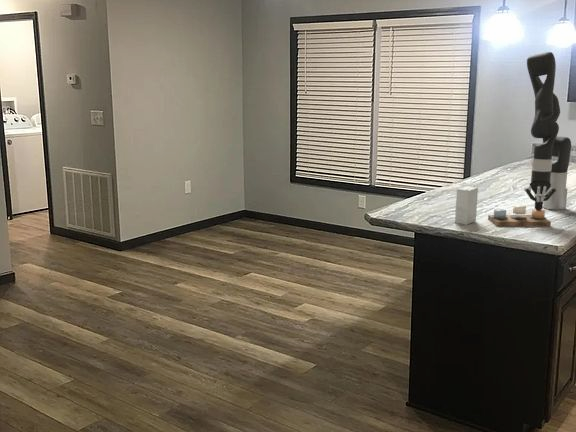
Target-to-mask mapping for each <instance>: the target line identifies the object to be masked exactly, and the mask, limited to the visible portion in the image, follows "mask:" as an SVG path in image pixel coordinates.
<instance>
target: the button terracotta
mask: <svg viewBox="0 0 576 432" xmlns="http://www.w3.org/2000/svg"><path fill="white" fill-rule="evenodd" d="M531 215H532V218H538V219H542V218H544V217H546V211H545V210H544V209H541V211H537V210H536V209H535V208H534V209H532V210H531Z"/></svg>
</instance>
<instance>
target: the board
mask: <svg viewBox="0 0 576 432" xmlns="http://www.w3.org/2000/svg"><path fill="white" fill-rule="evenodd" d="M487 220H488V221H489V222H491V223H492V224H493V225H495V226H496V227H551V222H552V221H551V220H549V219H547V217H546V216H544V218H542V219H538V218H532V214H506V218H502V219H501V218H494V214H488V216H487Z"/></svg>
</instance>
